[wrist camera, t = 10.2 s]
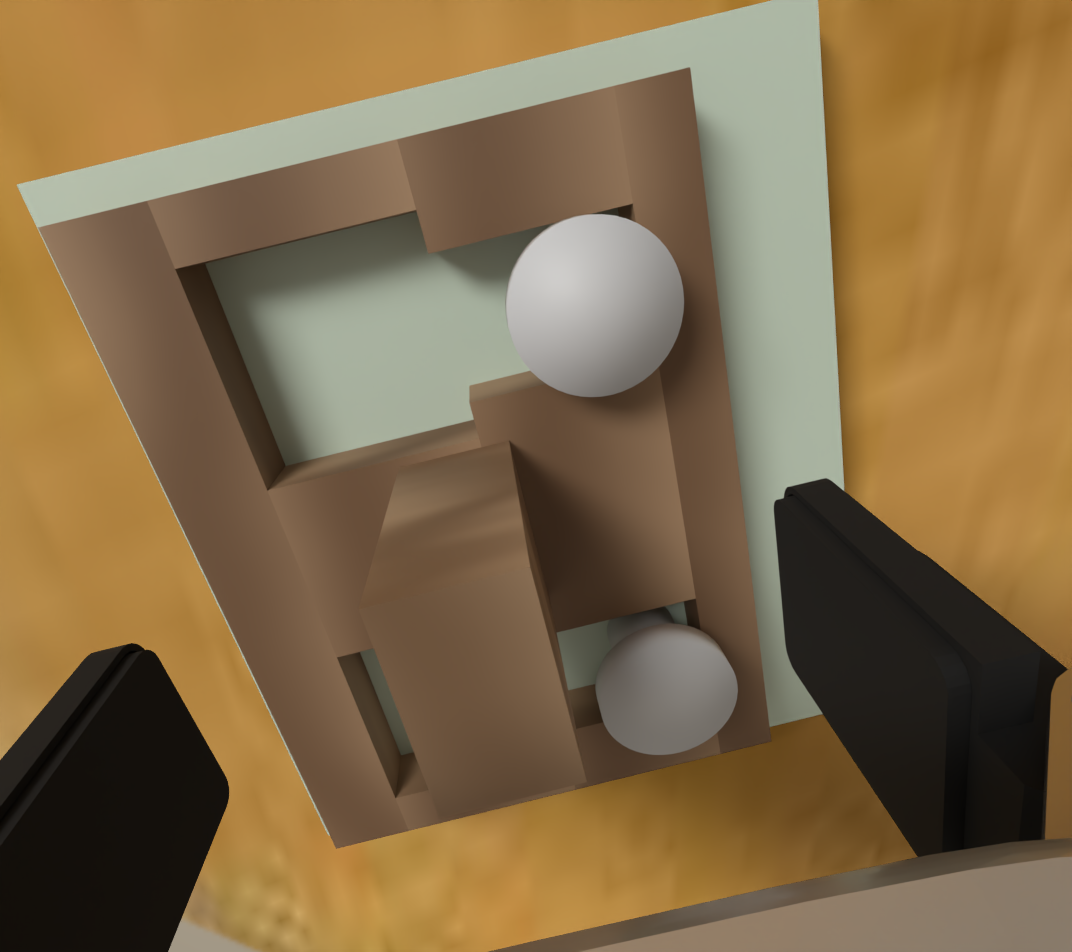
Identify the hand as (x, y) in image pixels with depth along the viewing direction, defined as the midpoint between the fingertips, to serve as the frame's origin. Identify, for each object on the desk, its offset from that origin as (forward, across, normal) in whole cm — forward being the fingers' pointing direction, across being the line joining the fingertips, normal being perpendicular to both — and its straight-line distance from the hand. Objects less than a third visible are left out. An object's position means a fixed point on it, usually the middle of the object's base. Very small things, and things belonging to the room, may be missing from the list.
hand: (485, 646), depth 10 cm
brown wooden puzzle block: (+7, 0, +1) cm, 7 cm away
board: (+8, -1, +1) cm, 8 cm away
